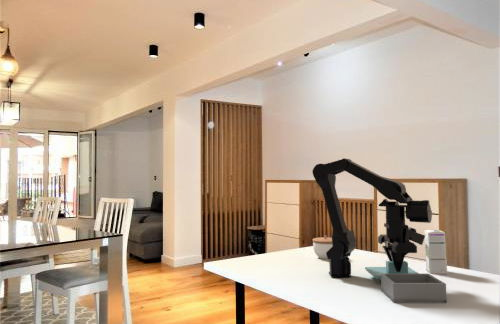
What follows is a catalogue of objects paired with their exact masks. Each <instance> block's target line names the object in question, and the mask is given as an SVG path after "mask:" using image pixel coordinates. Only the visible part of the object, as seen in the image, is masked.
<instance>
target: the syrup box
mask: <svg viewBox="0 0 500 324" xmlns="http://www.w3.org/2000/svg"><path fill="white" fill-rule="evenodd" d="M424 235H425V238H424V245H425V247H424V249H425V268H426V270H427V272H429V274H434V275H438V274H439V275H447V274H448V264H447V245H446V232H444V231H442V230H440V229H427V230H425V229H424Z"/></svg>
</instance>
